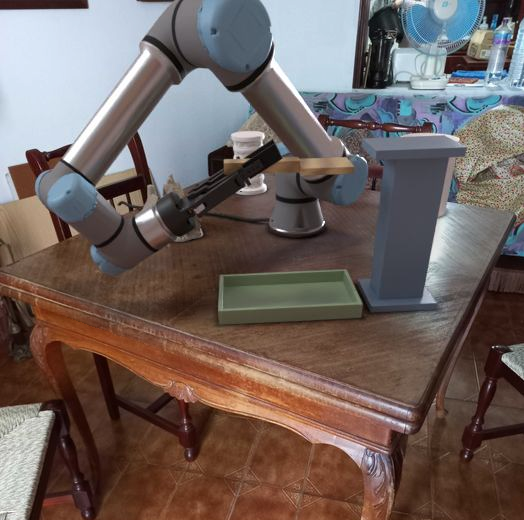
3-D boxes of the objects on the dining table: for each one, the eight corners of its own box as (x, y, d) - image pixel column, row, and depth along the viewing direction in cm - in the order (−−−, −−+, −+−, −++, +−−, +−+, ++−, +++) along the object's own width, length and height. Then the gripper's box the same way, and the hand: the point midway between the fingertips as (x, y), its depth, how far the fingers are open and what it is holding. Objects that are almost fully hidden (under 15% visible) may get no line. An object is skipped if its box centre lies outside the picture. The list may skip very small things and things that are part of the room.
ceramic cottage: (137, 228, 135) (130, 174, 126) (192, 221, 140) (189, 169, 131) (149, 250, 123) (142, 193, 114) (208, 242, 129) (206, 187, 120)
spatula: (224, 178, 79) (223, 166, 78) (225, 168, 85) (224, 156, 84) (354, 173, 80) (355, 161, 79) (345, 164, 86) (346, 152, 84)
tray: (219, 325, 90) (217, 311, 89) (220, 287, 103) (219, 274, 102) (361, 318, 91) (362, 304, 90) (345, 281, 104) (346, 269, 102)
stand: (360, 313, 93) (377, 152, 76) (348, 285, 103) (361, 137, 86) (435, 309, 93) (469, 148, 76) (416, 282, 103) (442, 134, 86)
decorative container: (270, 193, 160) (269, 135, 150) (237, 196, 158) (234, 138, 147) (261, 184, 169) (260, 129, 159) (230, 187, 167) (226, 132, 157)
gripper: (183, 222, 95) (284, 157, 89) (175, 253, 82) (293, 180, 76) (160, 190, 91) (263, 120, 85) (147, 217, 78) (269, 137, 72)
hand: (277, 148), depth 80 cm, fingers closed on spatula, 3 cm apart
